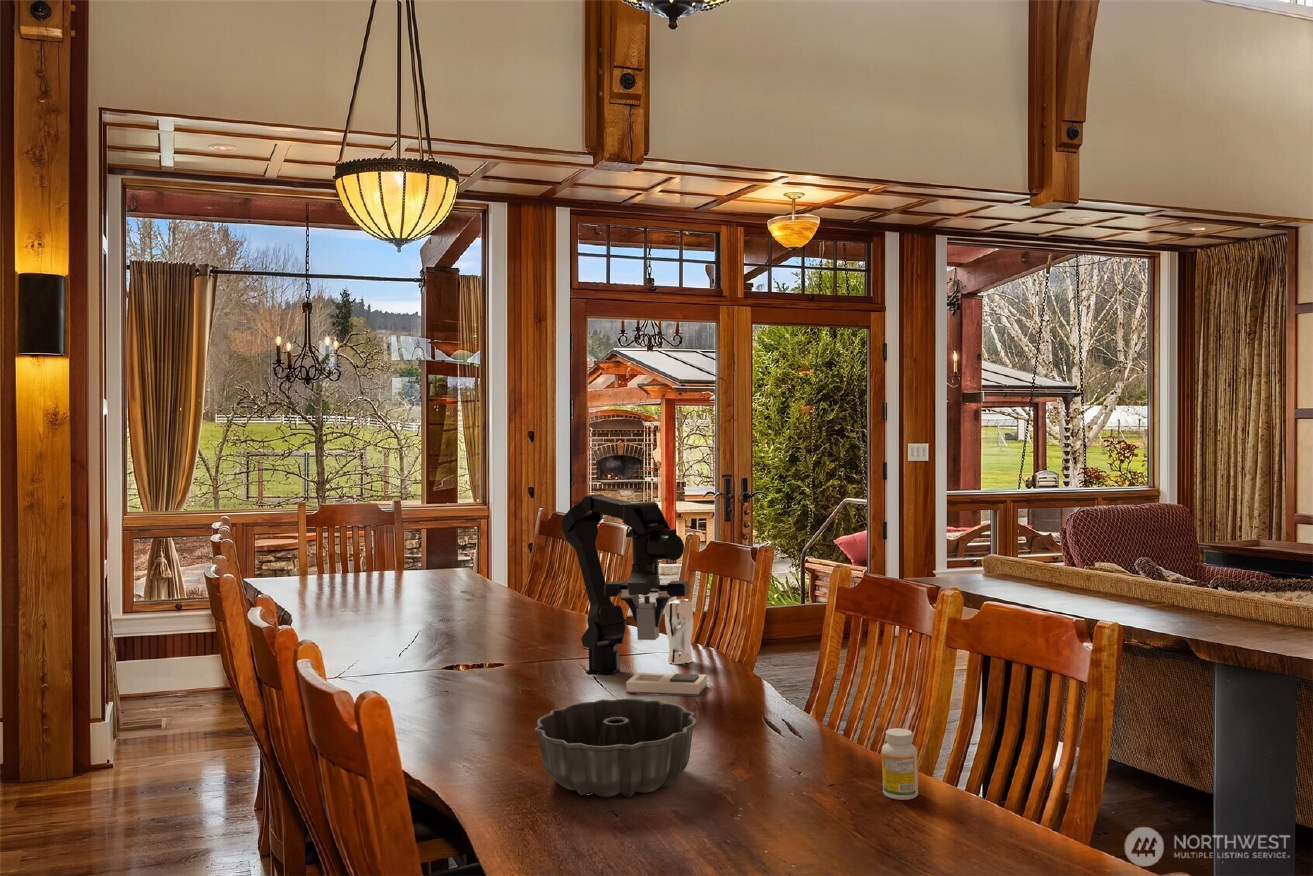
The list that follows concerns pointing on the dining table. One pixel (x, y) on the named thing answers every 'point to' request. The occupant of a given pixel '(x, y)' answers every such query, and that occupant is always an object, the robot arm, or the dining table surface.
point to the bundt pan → (616, 745)
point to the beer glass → (679, 630)
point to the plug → (647, 620)
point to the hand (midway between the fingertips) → (648, 627)
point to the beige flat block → (667, 684)
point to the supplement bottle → (899, 765)
